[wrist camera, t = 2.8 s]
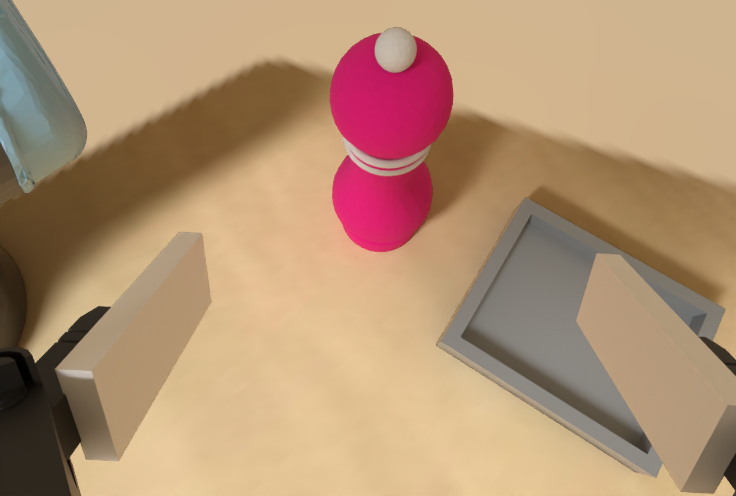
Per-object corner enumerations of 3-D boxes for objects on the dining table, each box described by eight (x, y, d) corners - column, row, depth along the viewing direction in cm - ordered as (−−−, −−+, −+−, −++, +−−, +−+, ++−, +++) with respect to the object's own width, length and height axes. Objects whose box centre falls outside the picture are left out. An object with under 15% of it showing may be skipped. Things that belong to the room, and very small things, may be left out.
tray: (435, 345, 35) (441, 341, 32) (515, 209, 38) (525, 196, 36) (634, 471, 32) (656, 477, 30) (701, 314, 36) (725, 309, 33)
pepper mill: (361, 161, 39) (360, -57, 20) (439, 198, 38) (514, 5, 19) (319, 233, 37) (273, 65, 18) (399, 274, 36) (440, 142, 17)
